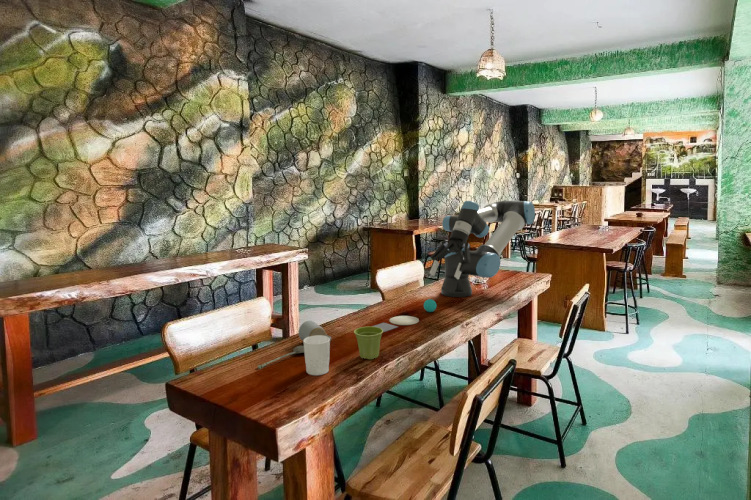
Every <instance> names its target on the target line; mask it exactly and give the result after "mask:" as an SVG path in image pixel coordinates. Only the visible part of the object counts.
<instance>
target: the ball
mask: <svg viewBox="0 0 751 500" xmlns="http://www.w3.org/2000/svg"><path fill="white" fill-rule="evenodd" d="M437 307H438V306H437V303H436V301H435V300H434V299H432V298H429V299H426V300H425V301H424V302H423V308H424V310H425V311H426V312H428V313H432V312H435V310H436V309H437Z"/></svg>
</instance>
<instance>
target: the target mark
mask: <svg viewBox="0 0 751 500" xmlns="http://www.w3.org/2000/svg"><path fill="white" fill-rule="evenodd" d="M388 321H389V322H390V324H392V325H396V326H397V325H398V326H410V325H415V324H417V323H419V322H420V320H419V318H418V317H416V316H410V315H398V316H394V317H391V318H389V319H388Z"/></svg>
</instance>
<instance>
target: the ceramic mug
mask: <svg viewBox="0 0 751 500" xmlns="http://www.w3.org/2000/svg"><path fill="white" fill-rule="evenodd" d="M315 335H322V336H327V337H329V338H330V342H331V340H332V337H331V336H330V335H328V334H327V333H326V331H325V329H324V328H323V327H322V326H320V325H319V324H318V323H316V322H315V321H313V320H306V321H304V322H302V323H301V325H300V326H299V329H298V336H299V339H300V340H301V341H303V340H304V339H305V338H307V337H310V336H315Z"/></svg>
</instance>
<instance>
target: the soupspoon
mask: <svg viewBox="0 0 751 500" xmlns="http://www.w3.org/2000/svg"><path fill="white" fill-rule="evenodd" d="M292 351H293V352H289V353H286V354H283V355H281V356H279V357H277V358H273V359H272V360H269V361H268V362H267V361H266V362H264V363H262V364H258V365H257V368H258V369H260V370H262V369H263V368H265V367H266V366H268V365H270V364H271V363H273V362H275V361H278V360H281V359H283V358H285V357H288V356H291V355H296V354H301V353H304V344H303V345H297V346H295V347H294V348H293V349H292Z"/></svg>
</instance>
